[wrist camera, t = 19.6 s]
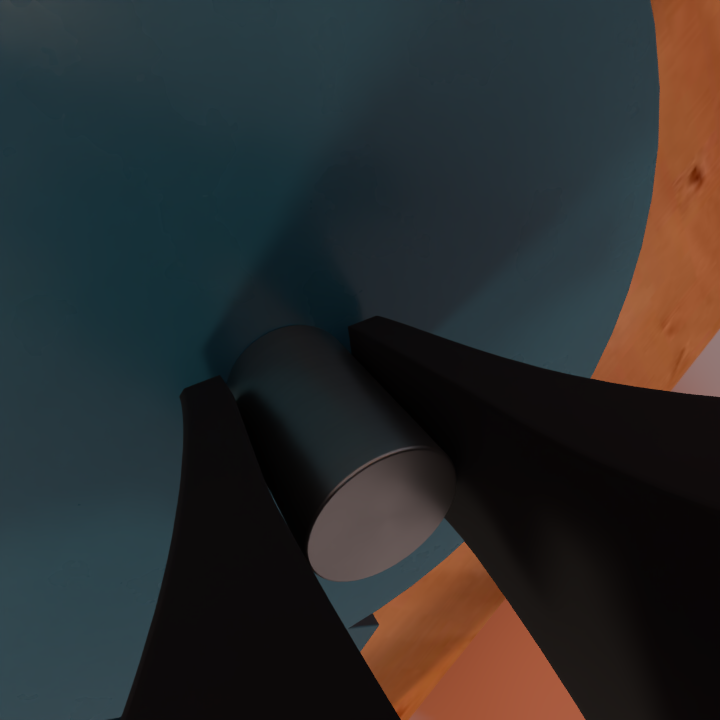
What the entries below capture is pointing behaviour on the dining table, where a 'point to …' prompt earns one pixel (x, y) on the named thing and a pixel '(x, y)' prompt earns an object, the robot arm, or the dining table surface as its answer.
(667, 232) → the dining table surface
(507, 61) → the pot lid
